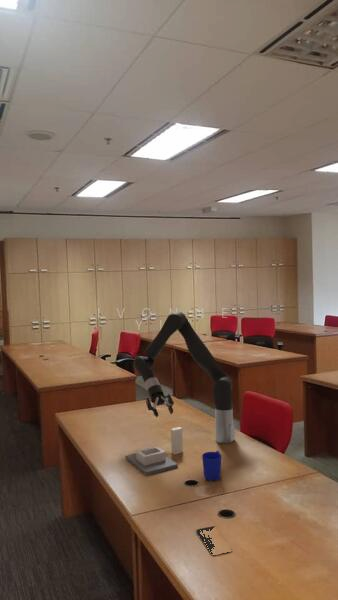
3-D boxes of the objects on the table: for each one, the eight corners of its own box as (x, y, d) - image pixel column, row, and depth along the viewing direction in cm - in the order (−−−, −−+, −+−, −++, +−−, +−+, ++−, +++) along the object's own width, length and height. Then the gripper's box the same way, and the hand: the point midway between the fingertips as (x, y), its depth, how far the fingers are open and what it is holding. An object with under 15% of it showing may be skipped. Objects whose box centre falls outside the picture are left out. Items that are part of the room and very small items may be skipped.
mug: (227, 472, 202) (226, 450, 201) (218, 483, 191) (217, 460, 190) (209, 469, 205) (209, 447, 205) (199, 480, 194) (199, 457, 194)
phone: (211, 555, 142) (195, 529, 156) (211, 557, 142) (195, 531, 157) (233, 550, 144) (215, 525, 159) (233, 553, 144) (215, 527, 159)
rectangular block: (182, 452, 226) (182, 428, 225) (174, 454, 224) (173, 430, 223) (180, 450, 228) (179, 426, 228) (171, 452, 226) (170, 428, 225)
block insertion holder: (177, 467, 209) (177, 455, 208) (146, 475, 201) (146, 463, 200) (155, 451, 228) (154, 440, 227) (125, 458, 220) (125, 447, 220)
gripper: (143, 386, 238) (154, 413, 229) (167, 382, 245) (179, 408, 236) (139, 393, 243) (150, 420, 234) (163, 390, 250) (174, 416, 241)
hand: (164, 414), depth 235 cm, fingers open, 8 cm apart
